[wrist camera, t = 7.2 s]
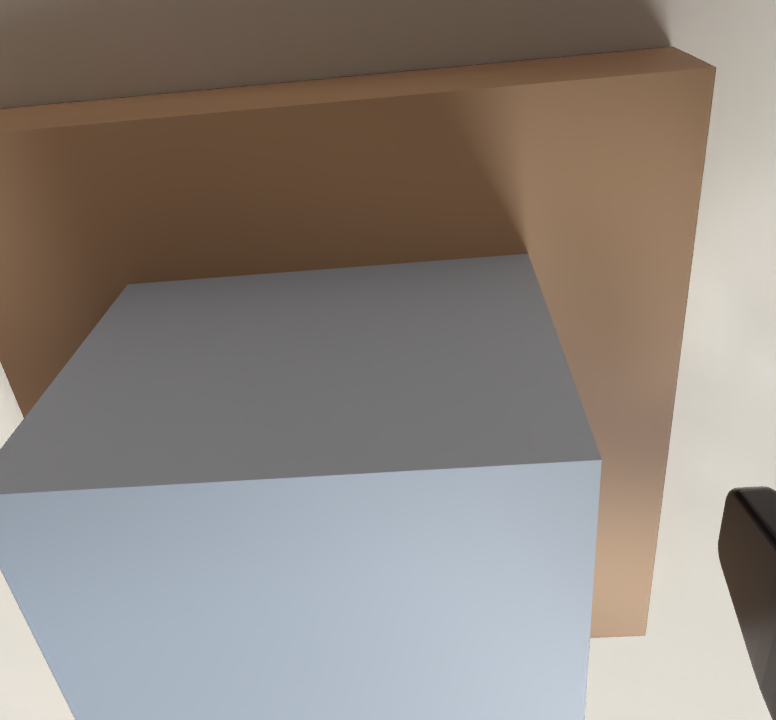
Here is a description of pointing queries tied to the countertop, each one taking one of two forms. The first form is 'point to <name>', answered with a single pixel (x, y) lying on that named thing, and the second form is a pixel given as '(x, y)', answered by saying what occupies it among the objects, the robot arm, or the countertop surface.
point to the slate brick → (311, 501)
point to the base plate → (393, 224)
